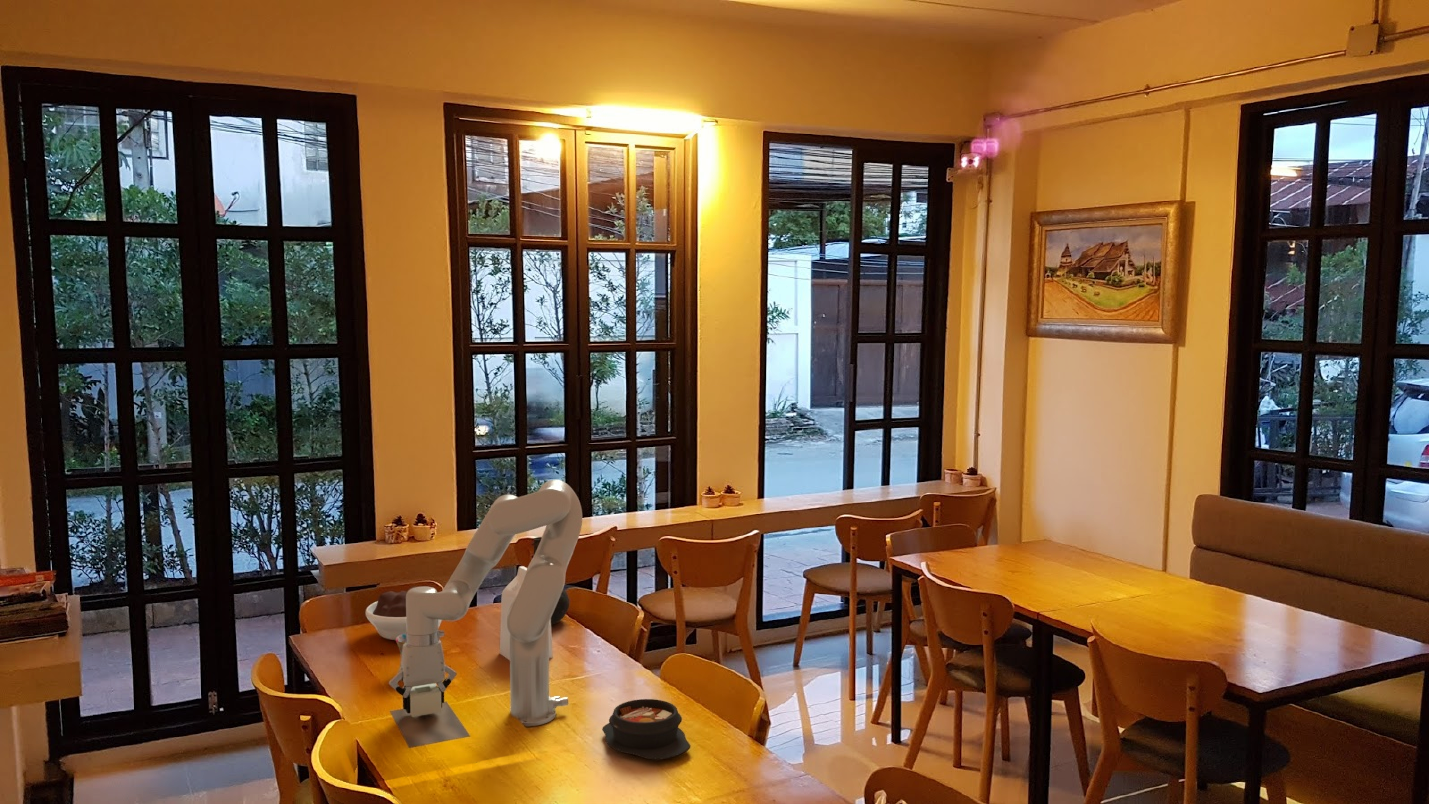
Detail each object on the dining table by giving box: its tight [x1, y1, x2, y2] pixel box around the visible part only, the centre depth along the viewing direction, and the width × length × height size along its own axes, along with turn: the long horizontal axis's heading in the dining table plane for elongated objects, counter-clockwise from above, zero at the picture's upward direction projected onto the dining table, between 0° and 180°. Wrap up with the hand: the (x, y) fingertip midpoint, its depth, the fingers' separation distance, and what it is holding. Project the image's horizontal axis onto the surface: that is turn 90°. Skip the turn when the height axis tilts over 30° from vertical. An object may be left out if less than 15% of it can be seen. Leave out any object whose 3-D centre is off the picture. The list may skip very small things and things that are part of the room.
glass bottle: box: [530, 536, 570, 626], centre depth 332 cm, size 18×18×28 cm
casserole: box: [601, 698, 691, 761], centre depth 240 cm, size 25×19×8 cm
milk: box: [499, 565, 554, 661], centre depth 301 cm, size 12×12×26 cm
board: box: [389, 701, 471, 749], centre depth 248 cm, size 14×24×2 cm, turn 28°
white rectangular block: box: [409, 683, 441, 717], centre depth 252 cm, size 7×7×5 cm
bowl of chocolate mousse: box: [365, 585, 443, 641], centre depth 319 cm, size 25×25×15 cm
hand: (423, 708), depth 252 cm, fingers closed on white rectangular block, 7 cm apart
